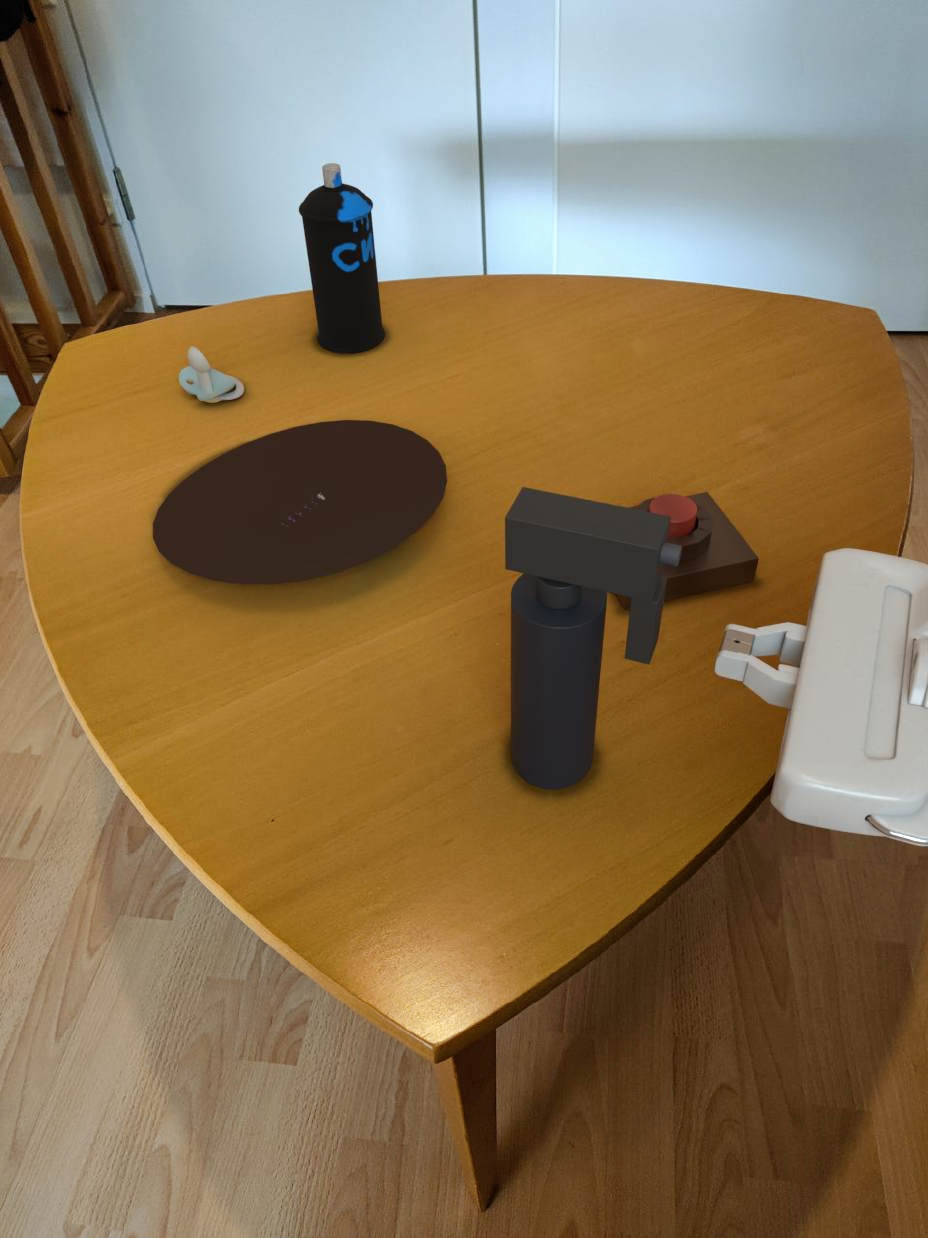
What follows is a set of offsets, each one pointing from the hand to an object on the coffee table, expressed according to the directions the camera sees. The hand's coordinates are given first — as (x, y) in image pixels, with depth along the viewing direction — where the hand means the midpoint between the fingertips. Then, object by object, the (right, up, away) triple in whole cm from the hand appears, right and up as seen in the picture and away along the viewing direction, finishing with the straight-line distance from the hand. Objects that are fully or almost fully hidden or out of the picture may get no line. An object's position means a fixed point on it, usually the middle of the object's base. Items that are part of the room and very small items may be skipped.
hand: (719, 648), depth 60 cm
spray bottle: (-7, -9, +12) cm, 17 cm away
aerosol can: (-29, +36, +60) cm, 76 cm away
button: (+2, +10, +25) cm, 28 cm away
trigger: (-4, 0, +2) cm, 5 cm away
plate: (-31, +12, +35) cm, 48 cm away
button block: (+3, +7, +28) cm, 29 cm away
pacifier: (-43, +27, +52) cm, 73 cm away
